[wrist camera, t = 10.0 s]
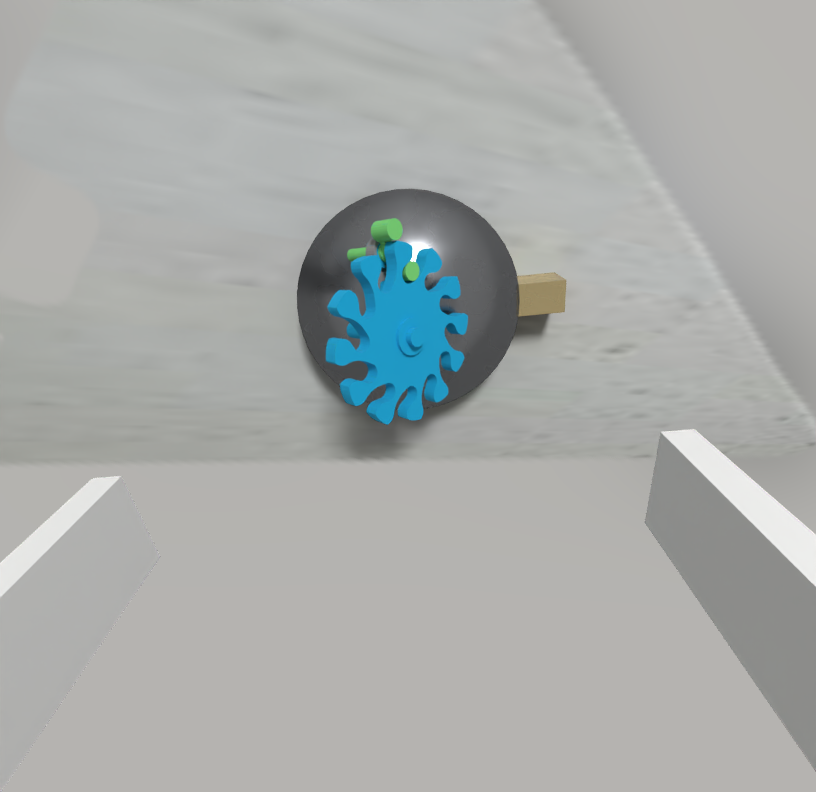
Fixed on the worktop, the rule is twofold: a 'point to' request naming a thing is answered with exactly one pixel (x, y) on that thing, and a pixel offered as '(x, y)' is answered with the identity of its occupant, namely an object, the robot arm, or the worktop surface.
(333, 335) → the dark grey frying pan
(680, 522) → the robot arm
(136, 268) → the worktop surface
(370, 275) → the gear
